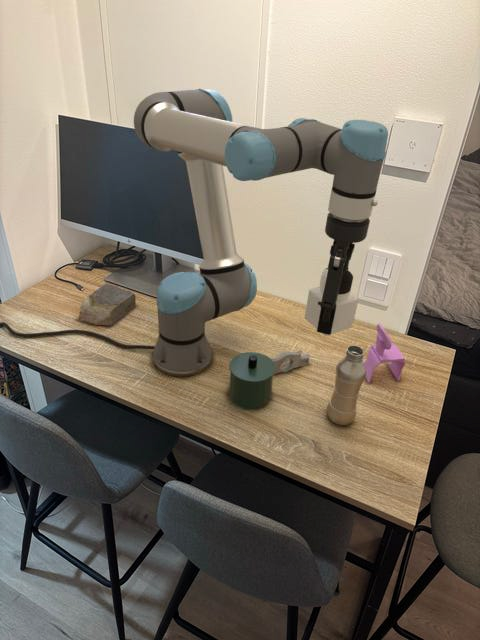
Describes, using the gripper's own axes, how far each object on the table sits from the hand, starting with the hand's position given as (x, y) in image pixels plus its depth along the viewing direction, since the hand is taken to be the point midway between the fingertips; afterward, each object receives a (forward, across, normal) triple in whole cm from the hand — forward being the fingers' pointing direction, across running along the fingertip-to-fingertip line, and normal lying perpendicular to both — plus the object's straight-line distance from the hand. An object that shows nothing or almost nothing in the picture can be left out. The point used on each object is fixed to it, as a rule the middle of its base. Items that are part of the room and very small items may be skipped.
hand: (328, 318), depth 99 cm
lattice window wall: (+27, +14, +9) cm, 32 cm away
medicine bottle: (+1, 0, 0) cm, 1 cm away
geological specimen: (+28, +19, +66) cm, 74 cm away
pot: (+27, +1, +15) cm, 31 cm away
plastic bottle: (+27, +1, -7) cm, 28 cm away
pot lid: (+19, +1, +15) cm, 24 cm away
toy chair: (+27, +22, -14) cm, 38 cm away
